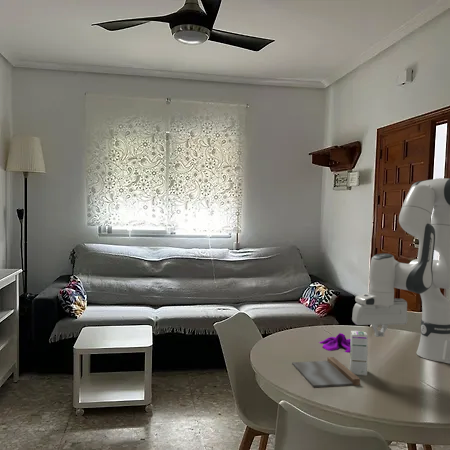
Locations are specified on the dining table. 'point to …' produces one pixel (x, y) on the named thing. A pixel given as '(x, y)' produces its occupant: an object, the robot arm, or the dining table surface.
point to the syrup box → (358, 352)
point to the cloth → (337, 343)
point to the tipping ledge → (326, 373)
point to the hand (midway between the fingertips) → (379, 336)
